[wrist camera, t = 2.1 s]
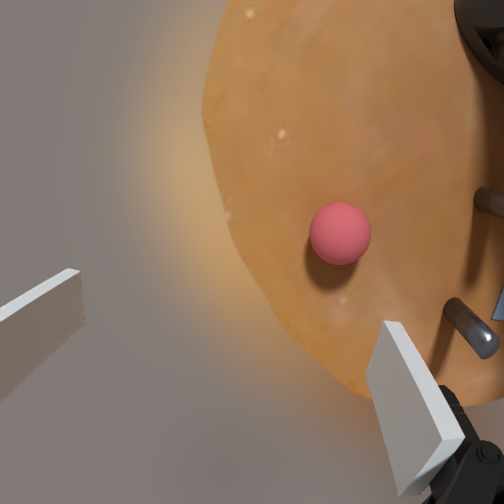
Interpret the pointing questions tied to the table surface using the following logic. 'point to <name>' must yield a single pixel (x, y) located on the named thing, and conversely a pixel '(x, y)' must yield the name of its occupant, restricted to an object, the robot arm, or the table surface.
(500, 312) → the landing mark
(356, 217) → the ball
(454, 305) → the post
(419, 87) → the table surface
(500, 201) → the post
